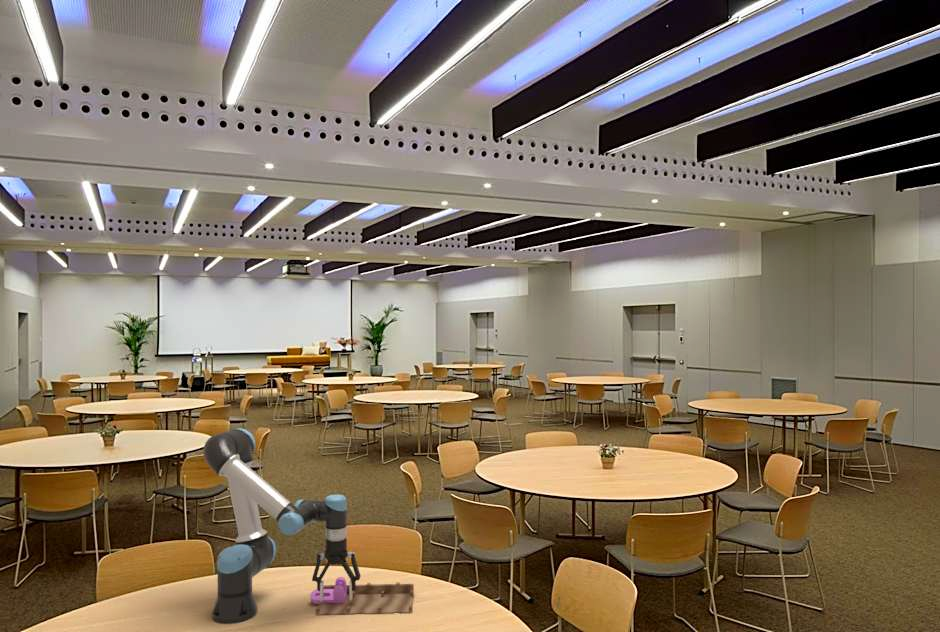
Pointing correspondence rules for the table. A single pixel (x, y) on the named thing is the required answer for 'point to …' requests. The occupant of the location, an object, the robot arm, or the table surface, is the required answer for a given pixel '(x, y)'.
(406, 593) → the ledge
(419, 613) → the table surface
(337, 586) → the bracket
